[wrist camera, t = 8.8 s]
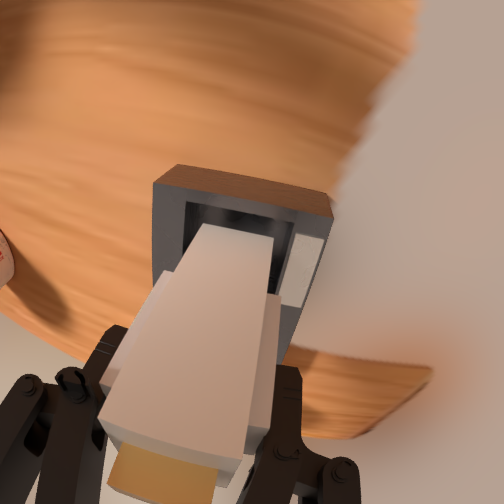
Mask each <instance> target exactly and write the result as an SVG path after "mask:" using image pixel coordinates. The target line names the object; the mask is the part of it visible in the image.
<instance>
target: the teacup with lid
mask: <svg viewBox="0 0 504 504" xmlns="http://www.w3.org/2000/svg"><path fill="white" fill-rule="evenodd" d="M13 274H14V260H13V256H12V253H11V250H10V248H9V245H8V243H7V241H6V239H5V238H4V236H3V234H2V233H1V232H0V289H1V288H2V287H3V286H4V285H5V284H6V283H7V282H8V281H9V280H10V279H11V278H12V277H13Z"/></svg>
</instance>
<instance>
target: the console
mask: <svg viewBox="0 0 504 504" xmlns="http://www.w3.org/2000/svg"><path fill="white" fill-rule="evenodd" d="M333 220H334V217H333V214H332V210H331V207H330V204H329V201H328V198H327V194H326V193H322V192H318V191H314V190H310V189H305V188H301V187H296V186H292V185H287V184H283V183H278V182H274V181H269V180H264V179H259V178H254V177H249V176H244V175H239V174H233V173H228V172H222V171H217V170H211V169H205V168H199V167H193V166H186V165H180V164H177V165H176V166H174V167H173V168H172V169H170V170H169V171H168V172H166V173H165V174H164V175H162V176H161V177H160V178H159V179H157V180H156V181H155V182H153V204H152V272H153V287H154V286H155V284H156V282H157V281H158V279H159V278H160V276H161V274H162V273H163V271H164V270H166V271H170V272H174V271H175V269H176V267H177V266H178V264H179V262H180V261H181V259H182V257H183V256H184V254H185V252H186V250H187V249H188V247H189V245H190V244H191V242H192V240H193V239H194V237H195V236H196V234H197V232H198V231H199V229H200V227H201V226H202V224H203V223H205V224H210V225H215V226H220V227H225V228H229V229H234V230H239V231H244V232H249V233H253V234H258V235H263V236H267V237H272V238H274V241H273V249H272V257H271V265H270V273H269V280H268V288H267V293H269V294H274V295H278V296H281V310H280V323H279V336H278V348H277V359H276V364H279V365H281V363H282V361H283V358H284V356H285V353H286V351H287V349H288V346H289V344H290V341H291V338H292V336H293V333H294V331H295V328H296V326H297V323H298V320H299V318H300V315H301V313H302V310H303V307H304V305H305V302H306V299H307V296H308V294H309V291H310V288H311V285H312V283H313V280H314V277H315V274H316V271H317V268H318V266H319V263H320V260H321V257H322V254H323V251H324V248H325V245H326V242H327V239H328V236H329V233H330V230H331V227H332V223H333Z"/></svg>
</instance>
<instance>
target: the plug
mask: <svg viewBox="0 0 504 504" xmlns="http://www.w3.org/2000/svg"><path fill="white" fill-rule="evenodd" d="M273 241H274V238H272V237H267V236H263V235H258V234H253V233H249V232H244V231H239V230H234V229H229V228H225V227H220V226H215V225H210V224H205V223H203V224H202V226H201V227H200V229H199V231H198V232H197V234H196V236H195V237H194V239H193V240H192V242H191V244H190V245H189V247H188V249H187V250H186V252H185V254H184V256H183V257H182V259H181V261H180V262H179V264H178V266H177V267H176V269H175V271H174V273H173V274H172V276H171V278H170V280H169V281H168V283H167V285H166V286H165V288H164V290H163V292H162V294H161V295H160V297H159V299H158V301H157V302H156V304H155V306H154V308H153V310H152V311H151V313H150V315H149V317H148V319H147V321H146V322H145V324H144V326H143V328H142V330H141V332H140V334H139V335H138V337H137V339H136V341H135V343H134V345H133V347H132V349H131V351H130V352H129V354H128V356H127V358H126V360H125V362H124V364H123V366H122V368H121V370H120V372H119V374H118V376H117V378H116V380H115V382H114V384H113V386H112V388H111V390H110V392H109V394H108V396H107V398H106V400H105V402H104V404H103V407H102V409H101V411H100V413H99V415H98V417H97V418H98V420H99V421H100V423H101V425H102V426H103V428H104V430H105V432H106V433H107V435H108V437H109V438H110V440H111V441H112V443H113V445H114V446H115V448H116V449H117V451H118V455H117V457H116V460H115V462H114V465H113V468H112V470H111V473H110V476H109V478H108V481H107V484H108V485H109V486H110V487H111V488H113V489H114V490H115V491H117V492H119V493H122V494H125V495H128V496H130V497H133V498H136V499H138V500H141V501H144V502H147V503H150V504H211V503H212V498H213V493H214V489H215V486H218V487H223V488H227V486H228V485H229V483H230V481H231V479H232V477H233V476H234V474H235V472H236V470H237V468H238V466H239V465H240V463H241V461H242V457H243V451H244V445H245V439H246V433H247V426H248V420H249V413H250V407H251V400H252V394H253V387H254V381H255V374H256V367H257V360H258V353H259V346H260V339H261V332H262V325H263V318H264V310H265V303H266V295H267V288H268V280H269V273H270V265H271V257H272V249H273Z"/></svg>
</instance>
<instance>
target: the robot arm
mask: <svg viewBox="0 0 504 504" xmlns="http://www.w3.org/2000/svg"><path fill="white" fill-rule="evenodd" d="M173 273H174V272H170V271H166V270H164V271H163V273H162V274H161V276H160V278H159V279H158V281H157V282H156V284H155V286H154V287H153V289H152V291H151V292H150V294H149V296H148V297H147V299H146V300H145V302H144V304H143V305H142V307H141V309H140V311H139V312H138V314H137V316H136V317H135V319H134V321H133V322H132V324H131V326H130V328H129V329H128V328H125V327H122V326H119V325H114V326H112V327H111V328H109V329H108V330H107V331H105V333H104V335H103V336H102V338H101V339H100V342H99V343H98V344H97V346H96V348H95V350H94V351H93V352H92V354H91V356H90V357H89V359H88V361H87V362H86V364H85V366H84V367H83V369H80V368H77V367H67V368H63V369H62V370H60V371H59V372H58V373H57V375H56V376H55V380H56V382H57V383H58V385H55V384H48V383H43V382H42V381H41V379H40V378H39V377H38V376H36V375H33V374H25V375H23V376H21V377H20V378H19V379H18V380H17V381H16V383H15V384H14V386H13V387H12V388H11V390H10V391H9V393H8V394H7V396H6V397H5V399H4V400H3V402H2V403H1V405H0V504H25V502H26V500H27V497H28V495H29V493H30V491H31V489H32V486H33V485H34V482H35V480H36V478H37V476H38V474H39V472H40V476H39V481H38V487H37V493H36V499H35V504H99V499H100V490H101V481H102V474H103V466H104V458H105V452H106V446H107V440H108V435H107V433H106V432H105V430H104V428H103V426H102V425H101V423H100V421H99V420H98V418H97V417H98V415H99V413H100V411H101V409H102V407H103V404H104V402H105V400H106V398H107V396H108V394H109V392H110V390H111V388H112V386H113V384H114V382H115V380H116V378H117V376H118V374H119V372H120V370H121V368H122V366H123V364H124V362H125V360H126V358H127V356H128V354H129V352H130V351H131V349H132V347H133V345H134V343H135V341H136V339H137V337H138V335H139V334H140V332H141V330H142V328H143V326H144V324H145V322H146V321H147V319H148V317H149V315H150V313H151V311H152V310H153V308H154V306H155V304H156V302H157V301H158V299H159V297H160V295H161V294H162V292H163V290H164V288H165V286H166V285H167V283H168V281H169V280H170V278H171V276H172V274H173ZM280 310H281V296H278V295H274V294H269V293H267V295H266V303H265V310H264V318H263V325H262V332H261V339H260V346H259V353H258V360H257V367H256V374H255V381H254V387H253V394H252V400H251V407H250V413H249V420H248V426H247V433H246V439H245V445H244V451H243V454H248V455H254V454H255V461H254V464H253V466H252V467H251V469H250V470H249V475H248V477H247V480H246V482H245V484H244V487H243V489H242V491H241V494H240V496H239V499H238V501H237V503H236V504H289V503H290V500H291V497H292V494H295V495H298V504H361V488H360V475H359V470H358V466H357V465H356V464H355V463H354V461H352V460H351V459H349V458H346V457H336V458H333V459H329V458H326V457H324V456H321V455H318V454H316V453H314V452H312V451H311V450H309V449H308V448H307V447H306V446H305V444H304V443H303V440H302V438H301V417H302V376H301V374H300V372H299V370H298V368H297V367H291V366H285V365H279V364H276V359H277V348H278V336H279V323H280ZM40 470H41V471H40Z"/></svg>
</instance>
